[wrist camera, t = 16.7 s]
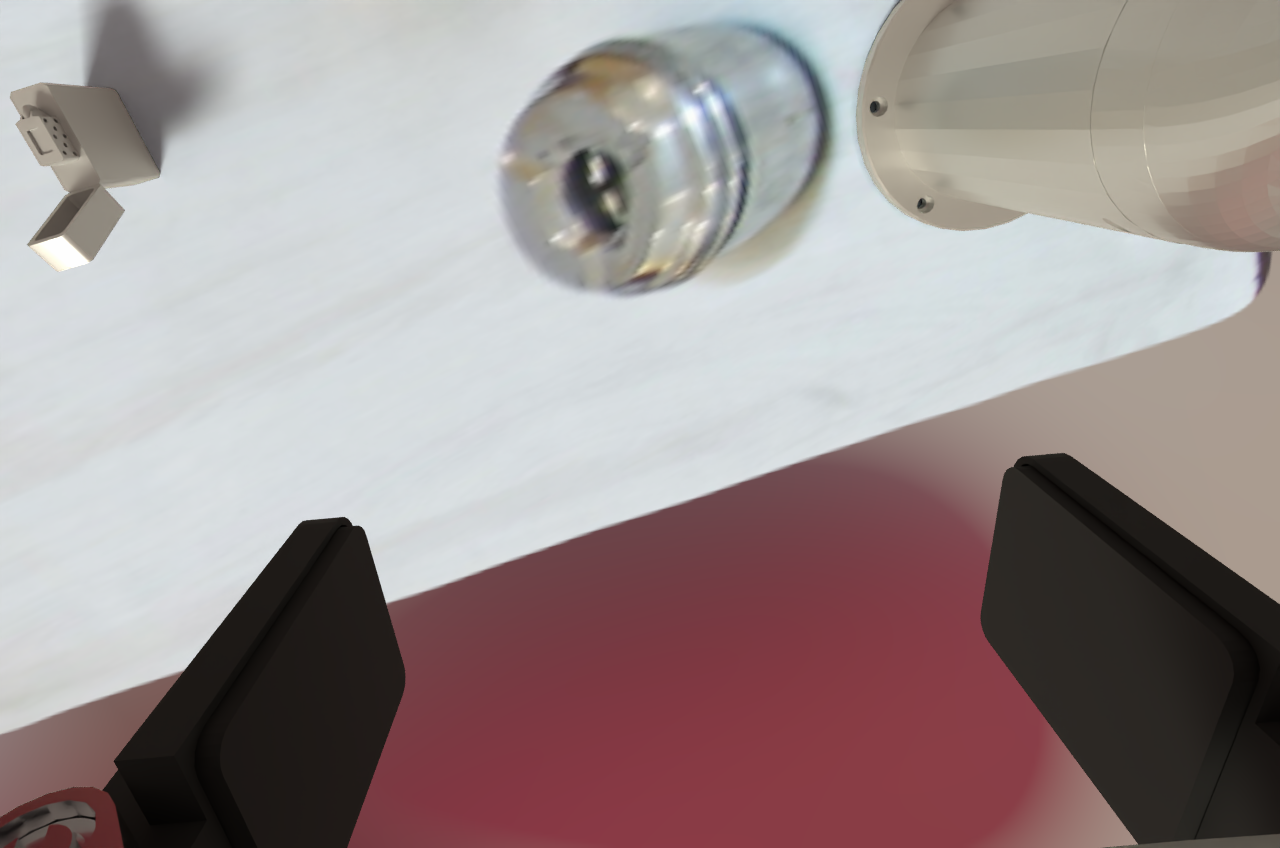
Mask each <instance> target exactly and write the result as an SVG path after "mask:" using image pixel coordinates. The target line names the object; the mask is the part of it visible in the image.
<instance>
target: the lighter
mask: <svg viewBox="0 0 1280 848" xmlns="http://www.w3.org/2000/svg"><path fill="white" fill-rule="evenodd" d="M10 99H11V101H12V102H13V104H14V106H15V107H16V109H17V111H18V112H19V114H20V116H21V118H20V121H18V122H17V123H16V126H17V127H18V129H19V131H20V132H21V134H22V136H23V137H24V139H25V141H26V142H27V144H28V146H29V147H30V149H31V151H32V152H33V154H34V156H35V157H36V159H37V161H38V162H39V164H40V165H41V166H51V168H52V170H53V171H54V173H55V175H56V176H57V178H58V180H59V181H60V183H61V185H62V186H63V188H64V190H66V191H68V192H70V193H68V194H67V195H65V196H64V198H63V199H62V200H61V202H60V203H59V204H58V205H57V207H56V208H55V209H54V211H53V212H52V213H51V214H50V216H49V217H48V218H47V220H46V221H45V222H44V224H43V225H42V226H41V227H40V229H39V230H38V231H37V233H36V234H35V235H34V236H33V238H32V239H31V240H30V242H29V243H28V244H27V245H28V246H29V247H30V248H31V249H32V250H33V251H35V252H36V253H37V254H38V255H39V256H40V257H41V258H42V259H43V260H45V261H46V262H47V263H48V264H49V265H50V266H51V267H52V268H53V269H55V270H56V271H57V272H59V271H63V270H66V269H69V268H73V267H76V266H79V265H83V264H86V263H89V262H90V261H92V260H93V259H94V258H95V256H96V255H97V253H98V251H99V250H100V248H101V247H102V245H103V244H104V242H105V241H106V239H107V237H108V236H109V234H110V233H111V231H112V230H113V228H114V227H115V225H116V224H117V222H118V220H119V219H120V217H121V216H122V214H123V213H124V211H125V210H124V209H123V208H122V207H121V206H120V204H119V203H118V202H117V201H116V200H115V199H114V198H113V197H112V196H111V195H110V194H109V193H108V192H107V191H106V190H105V189H107V188H116V187H124V186H132V185H136V184H140V183H143V182H146V181H150V180H153V179H156V178H159V176H160V172H159V170H158V168H157V166H156V164H155V162H154V161H153V159H152V157H151V155H150V153H149V151H148V149H147V147H146V146H145V144H144V142H143V140H142V138H141V136H140V134H139V132H138V131H137V129H136V127H135V125H134V123H133V121H132V119H131V117H130V115H129V114H128V112H127V110H126V108H125V106H124V104H123V102H122V100H121V99H120V97H119V95H118V93H117V91H115V90H113V89H112V88H102V87H90V86H77V85H65V84H53V83H38V84H35V85H32V86H29V87H26V88H22V89H19V90H16V91H13V92H11V94H10Z"/></svg>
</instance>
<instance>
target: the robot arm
mask: <svg viewBox="0 0 1280 848" xmlns="http://www.w3.org/2000/svg"><path fill="white" fill-rule="evenodd" d="M872 102H875V103H876V105H877V108H876V110H875V112H873V113H871V111H870V104H871V103H872ZM856 122H857V135H858V143H859V146H860V150H861V154H862V157H863V161H864V164H865V166H866V168H867V170H868V172H869V174H870V176H871V178H872V180H873V182H874V184H875V185H876V187H877V188H878V189H879V190H880V192H881V193H882V194H883V195H884V197H885V198H886V199H887V200H888V202H890V203H891V204H892V205H894V206H895V207H896V208H897V209H899V210H900V211H901V212H902V213H904V214H905V215H907V216H909V217H911V218H913V219H916V220H918V221H920V222H922V223H924V224H928V225H931V226H935V227H938V228H942V229H950V230H959V231H968V230H980V229H987V228H991V227H994V226H998V225H1002V224H1005V223H1009V222H1011V221H1013V220H1015V219H1017V218H1019V217H1021V216H1023V215H1025V214H1028V213H1030V214H1035V215H1040V216H1045V217H1050V218H1055V219H1060V220H1065V221H1070V222H1075V223H1079V224H1084V225H1089V226H1094V227H1099V228H1104V229H1109V230H1114V231H1119V232H1124V233H1129V234H1134V235H1139V236H1144V237H1149V238H1154V239H1159V240H1164V241H1169V242H1174V243H1179V244H1187V245H1192V246H1197V247H1202V248H1208V249H1215V250H1223V251H1232V252H1269V251H1280V0H901V1H900V2H899V4H898V5H897V6H896V7H895V8H894V9H893V11H892V12H891V14H890V15H889V17H888V18H887V20H886V22H885V23H884V25H883V26H882V28H881V29H880V31H879V32H878V34H877V36H876V38H875V41H874V43H873V45H872V47H871V50H870V52H869V54H868V57H867V59H866V61H865V65H864V69H863V73H862V77H861V80H860V84H859V88H858V98H857V109H856ZM920 199H922V201H923V203H922V205H921V206H920V207H919V208H917V204H918V201H919V200H920ZM981 625H982V628H983V632H984V634H985V637H986V638H987V640H988V642H989V643H990V644H991V646H992V647H993V648H994V650H995V651H996V653H997V654H998V655H999V656H1000V658H1001V659H1002V661H1003V662H1004V663H1005V665H1006V666H1007V667H1008V669H1009V670H1010V671H1011V673H1012V674H1013V675H1014V677H1015V678H1016V680H1017V681H1018V682H1019V684H1020V685H1021V686H1022V688H1023V689H1024V690H1025V692H1026V693H1027V694H1028V696H1029V697H1030V698H1031V700H1032V701H1033V703H1034V704H1035V705H1036V707H1037V708H1038V709H1039V711H1040V712H1041V713H1042V715H1043V716H1044V717H1045V719H1046V720H1047V721H1048V723H1049V724H1050V725H1051V727H1052V728H1053V730H1054V731H1055V732H1056V734H1057V735H1058V736H1059V738H1060V739H1061V740H1062V742H1063V743H1064V744H1065V746H1066V747H1067V748H1068V750H1069V751H1070V752H1071V754H1072V755H1073V757H1074V758H1075V759H1076V761H1077V762H1078V763H1079V765H1080V766H1081V767H1082V769H1083V770H1084V771H1085V773H1086V774H1087V776H1088V777H1089V778H1090V779H1091V781H1092V782H1093V784H1094V785H1095V786H1096V788H1097V789H1098V790H1099V792H1100V793H1101V794H1102V796H1103V797H1104V798H1105V800H1106V801H1107V803H1108V804H1109V805H1110V807H1111V808H1112V809H1113V811H1114V812H1115V813H1116V815H1117V816H1118V817H1119V819H1120V820H1121V821H1122V823H1123V824H1124V826H1125V827H1126V828H1127V830H1128V831H1129V832H1130V834H1131V835H1132V836H1133V838H1134V839H1135V840H1136V842H1137V843H1138V845H1129V846H1117V847H1105V848H1280V604H1278V603H1277V602H1276V601H1274V600H1273V599H1271V598H1270V597H1269V596H1267V595H1266V594H1264V593H1263V592H1261V591H1260V590H1259V589H1257V588H1256V587H1254V586H1253V585H1252V584H1250V583H1249V582H1248V581H1246V580H1245V579H1243V578H1242V577H1240V576H1239V575H1238V574H1236V573H1235V572H1233V571H1232V570H1230V569H1229V568H1228V567H1226V566H1225V565H1224V564H1222V563H1221V562H1219V561H1218V560H1216V559H1215V558H1213V557H1212V556H1211V555H1209V554H1208V553H1207V552H1205V551H1204V550H1202V549H1201V548H1200V547H1198V546H1197V545H1195V544H1194V543H1192V542H1191V541H1190V540H1188V539H1187V538H1185V537H1184V536H1183V535H1181V534H1180V533H1178V532H1177V531H1176V530H1174V529H1173V528H1171V527H1170V526H1169V525H1167V524H1166V523H1164V522H1163V521H1162V520H1160V519H1159V518H1157V517H1156V516H1154V515H1153V514H1152V513H1150V512H1149V511H1147V510H1146V509H1145V508H1143V507H1142V506H1140V505H1139V504H1137V503H1136V502H1134V501H1133V500H1132V499H1131V498H1129V497H1128V496H1126V495H1125V494H1123V493H1122V492H1121V491H1119V490H1118V489H1116V488H1115V487H1114V486H1112V485H1111V484H1109V483H1108V482H1107V481H1105V480H1104V479H1102V478H1101V477H1100V476H1098V475H1097V474H1095V473H1094V472H1092V471H1091V470H1089V469H1088V468H1087V467H1085V466H1084V465H1083V464H1081V463H1080V462H1078V461H1077V460H1076V459H1074V458H1073V457H1071V456H1069V455H1067V454H1065V453H1057V454H1046V455H1035V456H1024V457H1021V458H1020V459H1018V460H1017V462H1016V463H1015V465H1014V467H1011V468H1009V469H1007V470H1006V472H1005V474H1004V477H1003V481H1002V487H1001V493H1000V499H999V506H998V512H997V518H996V524H995V530H994V536H993V543H992V548H991V554H990V560H989V566H988V572H987V579H986V584H985V591H984V597H983V603H982V609H981ZM404 687H405V668H404V664H403V660H402V657H401V654H400V650H399V647H398V644H397V640H396V637H395V633H394V629H393V626H392V623H391V619H390V616H389V612H388V609H387V605H386V602H385V598H384V595H383V592H382V588H381V585H380V581H379V578H378V574H377V571H376V567H375V564H374V561H373V557H372V554H371V550H370V547H369V543H368V540H367V537H366V534H365V531H364V530H363V528H362V527H360V526H353V525H352V523H351V522H350V521H349V519H347V518H345V517H339V518H328V519H317V520H306V521H302V522H301V523H300V524H299V525H298V526H297V528H296V529H295V530H294V531H293V533H292V534H291V535H290V536H289V538H288V539H287V540H286V542H285V543H284V544H283V545H282V547H281V548H280V549H279V551H278V552H277V553H276V554H275V556H274V557H273V558H272V559H271V561H270V562H269V563H268V565H267V566H266V567H265V568H264V570H263V571H262V572H261V574H260V575H259V576H258V577H257V579H256V580H255V581H254V582H253V584H252V585H251V586H250V588H249V589H248V590H247V591H246V593H245V594H244V595H243V597H242V598H241V599H240V600H239V602H238V603H237V604H236V605H235V607H234V608H233V609H232V611H231V612H230V613H229V614H228V616H227V617H226V618H225V619H224V621H223V622H222V623H221V625H220V626H219V627H218V628H217V630H216V631H215V632H214V634H213V635H212V636H211V637H210V639H209V640H208V641H207V642H206V644H205V645H204V646H203V648H202V649H201V650H200V651H199V653H198V654H197V655H196V657H195V658H194V659H193V660H192V662H191V663H190V664H189V665H188V667H187V668H186V669H185V671H184V672H183V673H182V674H181V676H180V677H179V678H178V680H177V681H176V682H175V684H174V685H173V686H172V687H171V688H170V690H169V691H168V692H167V694H166V695H165V696H164V697H163V699H162V700H161V701H160V703H159V704H158V705H157V707H156V708H155V709H154V710H153V712H152V713H151V714H150V715H149V717H148V718H147V719H146V720H145V722H144V723H143V724H142V726H141V727H140V728H139V729H138V731H137V732H136V733H135V734H134V736H133V737H132V738H131V740H130V741H129V742H128V743H127V745H126V746H125V747H124V749H123V750H122V751H121V753H120V754H119V755H118V756H117V757H116V759H115V760H114V763H115V765H116V766H117V768H118V771H117V772H116V773H115V775H114V776H113V777H112V779H111V780H110V781H109V782H108V784H107V785H106V787H105V788H104V789H103V790H100V789H98V788H95V787H71V788H67V789H64V790H59V791H56V792H52V793H48V794H45V795H43V796H41V797H38V798H36V799H34V800H32V801H29V802H27V803H25V804H22V805H20V806H18V807H16V808H15V809H13V810H11V811H10V812H8V813H6V814H5V815H3V816H1V817H0V848H347V846H348V844H349V841H350V838H351V835H352V832H353V830H354V827H355V824H356V822H357V819H358V816H359V813H360V811H361V808H362V805H363V802H364V799H365V797H366V794H367V791H368V789H369V786H370V783H371V780H372V778H373V775H374V772H375V769H376V766H377V764H378V761H379V758H380V756H381V753H382V750H383V747H384V745H385V742H386V739H387V737H388V734H389V731H390V728H391V726H392V723H393V720H394V717H395V715H396V712H397V709H398V706H399V704H400V701H401V698H402V695H403V691H404Z"/></svg>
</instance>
